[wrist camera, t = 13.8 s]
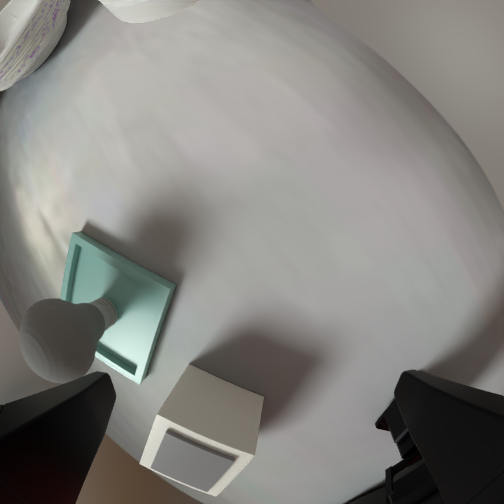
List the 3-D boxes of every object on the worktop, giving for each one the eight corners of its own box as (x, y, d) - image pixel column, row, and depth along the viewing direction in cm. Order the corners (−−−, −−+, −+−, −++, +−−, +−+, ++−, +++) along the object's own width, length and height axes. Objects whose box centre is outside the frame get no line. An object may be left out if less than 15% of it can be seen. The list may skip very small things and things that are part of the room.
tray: (176, 284, 21) (170, 289, 20) (145, 378, 23) (139, 384, 22) (80, 231, 21) (72, 232, 20) (64, 324, 23) (57, 328, 22)
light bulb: (145, 340, 22) (75, 405, 12) (95, 341, 23) (26, 391, 13) (125, 272, 21) (36, 311, 11) (77, 281, 22) (-5, 314, 12)
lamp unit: (264, 396, 22) (253, 459, 14) (229, 446, 23) (213, 500, 16) (189, 363, 22) (154, 417, 15) (166, 419, 24) (137, 468, 16)
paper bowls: (106, -6, 17) (71, -37, 10) (39, 103, 20) (-11, 88, 13) (46, 5, 18) (16, -14, 10) (-4, 92, 21) (-41, 83, 13)
